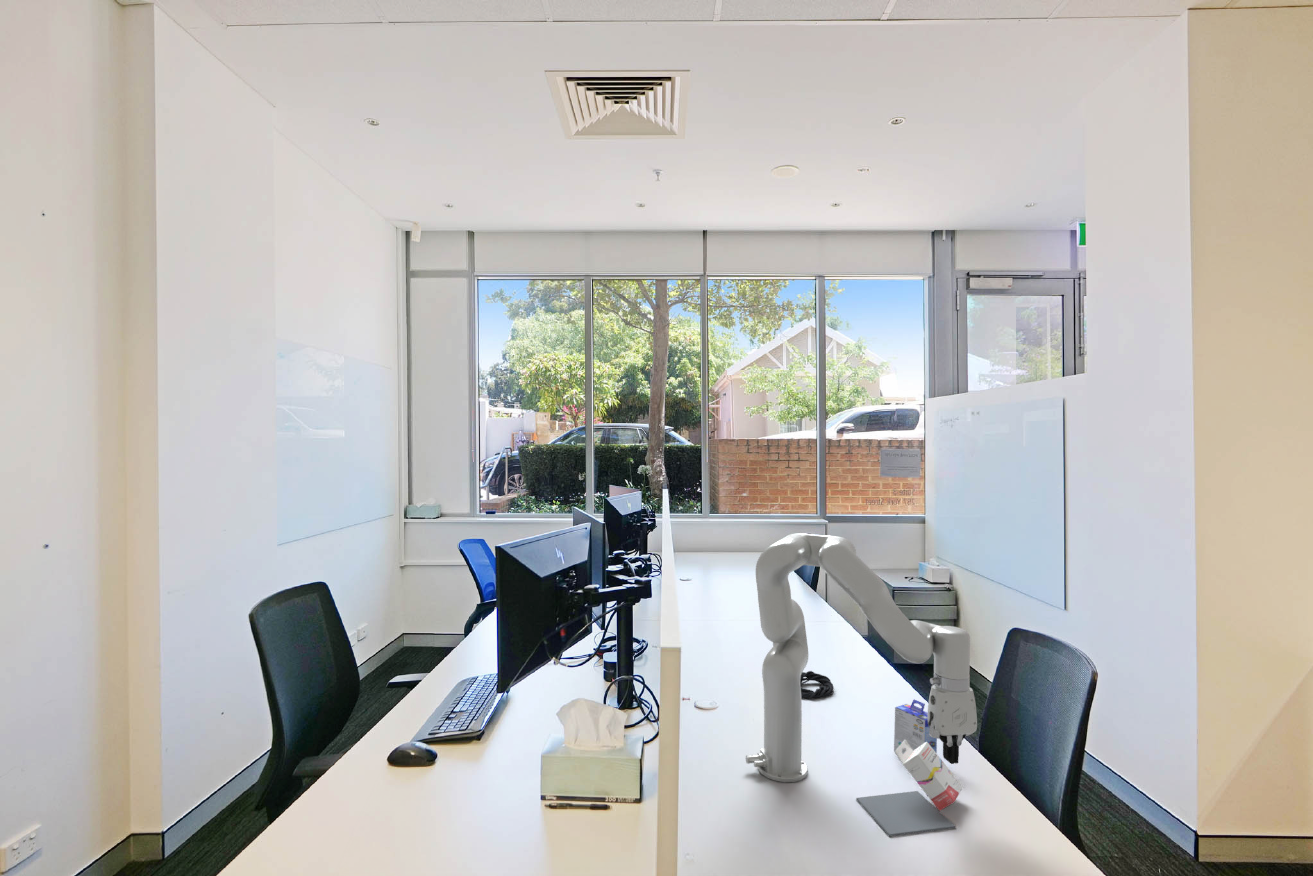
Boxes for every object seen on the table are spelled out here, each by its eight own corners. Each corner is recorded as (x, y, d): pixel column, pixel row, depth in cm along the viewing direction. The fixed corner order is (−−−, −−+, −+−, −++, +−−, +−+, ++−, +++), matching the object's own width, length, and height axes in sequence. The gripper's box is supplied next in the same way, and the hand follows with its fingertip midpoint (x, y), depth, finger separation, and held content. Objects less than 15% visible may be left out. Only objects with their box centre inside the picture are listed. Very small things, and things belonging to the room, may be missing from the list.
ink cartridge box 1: (938, 761, 167) (938, 707, 167) (925, 767, 164) (925, 711, 164) (906, 746, 176) (906, 694, 176) (893, 751, 173) (893, 698, 173)
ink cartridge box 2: (955, 802, 143) (907, 742, 149) (939, 812, 145) (892, 753, 151) (964, 785, 150) (917, 729, 156) (948, 795, 152) (903, 739, 158)
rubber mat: (889, 836, 136) (889, 834, 136) (856, 799, 149) (856, 797, 149) (955, 828, 139) (955, 826, 139) (917, 793, 153) (917, 790, 153)
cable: (819, 680, 225) (819, 667, 225) (846, 694, 212) (846, 681, 212) (779, 687, 218) (779, 674, 218) (804, 703, 205) (804, 689, 205)
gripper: (932, 690, 141) (932, 772, 141) (991, 685, 144) (990, 766, 144) (912, 677, 149) (912, 755, 149) (968, 673, 152) (968, 750, 152)
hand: (950, 760), depth 146 cm, fingers closed
